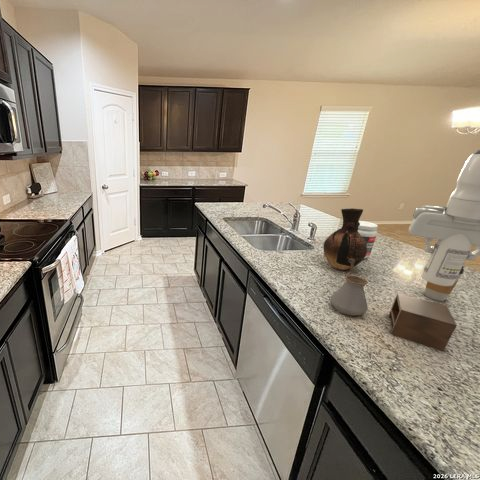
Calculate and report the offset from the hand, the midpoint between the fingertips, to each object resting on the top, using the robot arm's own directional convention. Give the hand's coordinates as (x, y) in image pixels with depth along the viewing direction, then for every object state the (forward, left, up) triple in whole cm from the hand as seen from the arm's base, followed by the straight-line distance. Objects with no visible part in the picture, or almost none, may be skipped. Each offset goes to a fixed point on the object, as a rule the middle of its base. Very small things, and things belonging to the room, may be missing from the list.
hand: (448, 255), depth 74 cm
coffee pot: (+19, -6, -28) cm, 34 cm away
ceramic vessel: (+23, -42, -28) cm, 55 cm away
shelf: (0, 0, -28) cm, 28 cm away
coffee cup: (-10, -33, -28) cm, 44 cm away
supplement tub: (+17, -64, -28) cm, 72 cm away
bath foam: (0, 0, -9) cm, 9 cm away
